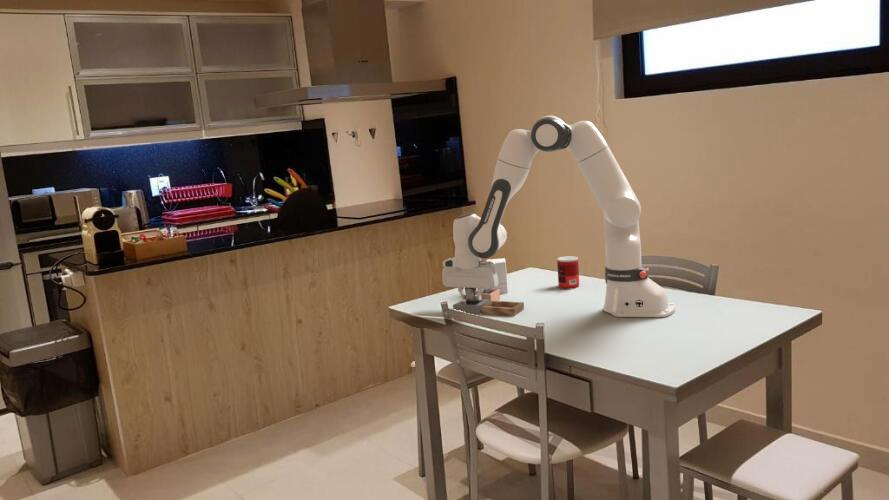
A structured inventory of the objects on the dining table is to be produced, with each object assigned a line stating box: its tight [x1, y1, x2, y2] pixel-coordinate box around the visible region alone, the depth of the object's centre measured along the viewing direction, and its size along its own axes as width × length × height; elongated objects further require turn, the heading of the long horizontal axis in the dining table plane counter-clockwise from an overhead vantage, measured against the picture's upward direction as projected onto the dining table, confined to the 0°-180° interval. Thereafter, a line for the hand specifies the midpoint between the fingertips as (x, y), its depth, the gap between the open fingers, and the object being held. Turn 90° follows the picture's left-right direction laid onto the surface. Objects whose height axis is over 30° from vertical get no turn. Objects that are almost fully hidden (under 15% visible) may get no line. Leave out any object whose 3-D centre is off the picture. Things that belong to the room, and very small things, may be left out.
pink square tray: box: [477, 289, 501, 301], centre depth 245 cm, size 7×7×4 cm
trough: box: [481, 300, 525, 317], centre depth 231 cm, size 12×8×3 cm, turn 60°
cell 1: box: [464, 287, 478, 305], centre depth 237 cm, size 4×4×8 cm
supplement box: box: [486, 257, 509, 295], centre depth 257 cm, size 7×7×13 cm
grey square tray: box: [452, 299, 490, 315], centre depth 238 cm, size 10×9×3 cm
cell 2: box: [482, 288, 492, 294], centre depth 245 cm, size 4×4×8 cm
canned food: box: [556, 255, 580, 290], centre depth 258 cm, size 8×8×11 cm
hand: (471, 299), depth 237 cm, fingers closed on cell 1, 4 cm apart
